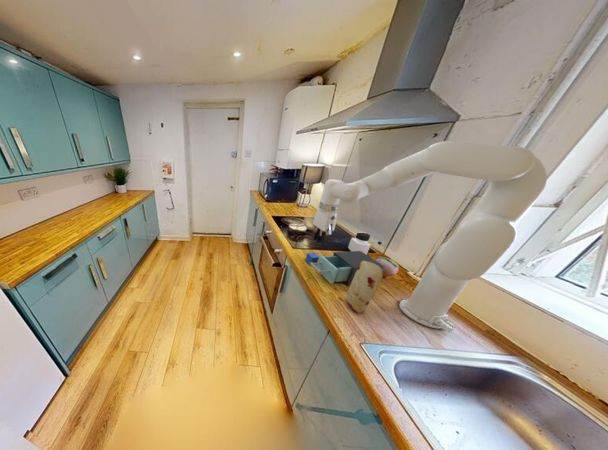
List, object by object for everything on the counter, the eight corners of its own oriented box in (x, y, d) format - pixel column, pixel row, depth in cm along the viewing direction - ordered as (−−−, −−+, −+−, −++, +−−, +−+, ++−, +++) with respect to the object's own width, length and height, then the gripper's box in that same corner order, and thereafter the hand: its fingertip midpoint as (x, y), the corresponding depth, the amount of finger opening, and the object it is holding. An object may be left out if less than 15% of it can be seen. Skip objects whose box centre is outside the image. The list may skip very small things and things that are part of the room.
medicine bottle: (366, 255, 113) (374, 237, 108) (352, 253, 114) (360, 235, 109) (360, 249, 119) (367, 231, 114) (347, 247, 120) (354, 230, 115)
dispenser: (347, 285, 89) (354, 267, 85) (328, 268, 101) (334, 252, 97) (375, 283, 91) (383, 266, 87) (354, 266, 103) (360, 251, 99)
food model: (340, 296, 83) (356, 256, 75) (357, 298, 82) (376, 258, 74) (350, 314, 74) (369, 272, 66) (370, 318, 73) (392, 275, 65)
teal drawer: (319, 284, 88) (324, 270, 85) (304, 268, 98) (308, 255, 95) (357, 281, 90) (363, 268, 87) (339, 266, 101) (344, 253, 97)
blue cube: (318, 264, 103) (320, 257, 102) (310, 264, 103) (312, 257, 101) (313, 259, 108) (315, 252, 106) (305, 259, 107) (307, 252, 105)
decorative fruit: (397, 277, 95) (406, 260, 91) (389, 283, 91) (398, 265, 87) (374, 267, 103) (382, 250, 98) (366, 271, 99) (374, 254, 95)
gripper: (348, 212, 85) (335, 248, 93) (324, 201, 100) (315, 233, 107) (332, 212, 85) (321, 249, 92) (310, 201, 99) (302, 234, 106)
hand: (318, 240), depth 100 cm, fingers closed
